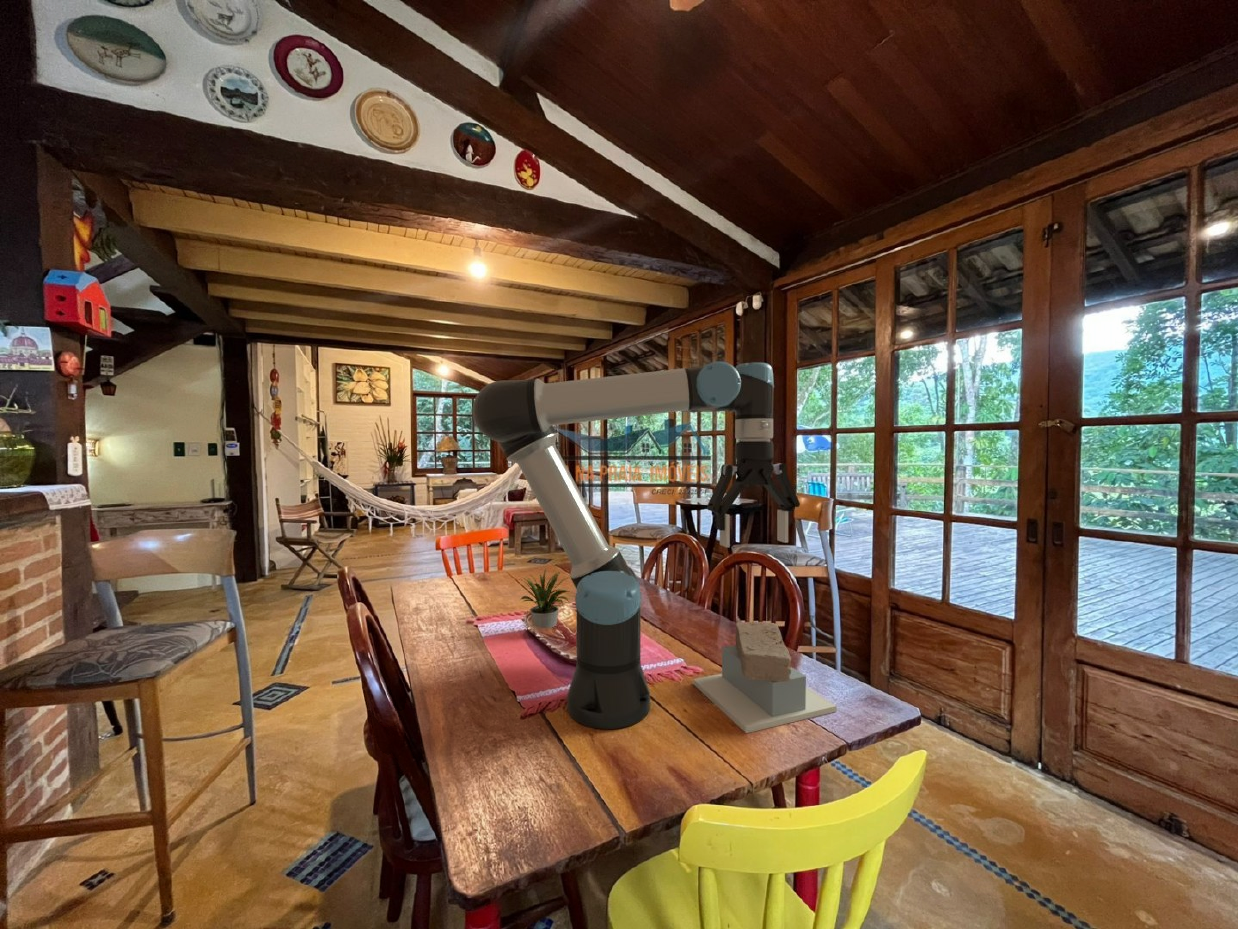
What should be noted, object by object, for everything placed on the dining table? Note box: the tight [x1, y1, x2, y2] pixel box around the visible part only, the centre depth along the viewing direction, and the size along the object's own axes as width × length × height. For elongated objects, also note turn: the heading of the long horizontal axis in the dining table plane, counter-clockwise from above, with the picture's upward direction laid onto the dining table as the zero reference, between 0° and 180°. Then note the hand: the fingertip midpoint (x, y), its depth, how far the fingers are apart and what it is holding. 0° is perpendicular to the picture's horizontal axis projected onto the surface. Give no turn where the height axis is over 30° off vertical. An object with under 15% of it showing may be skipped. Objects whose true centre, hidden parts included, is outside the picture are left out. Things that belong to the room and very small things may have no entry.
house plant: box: [517, 568, 571, 629], centre depth 124 cm, size 14×14×16 cm
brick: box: [734, 621, 792, 682], centre depth 94 cm, size 17×8×5 cm, turn 172°
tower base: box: [692, 644, 838, 734], centre depth 94 cm, size 19×18×7 cm
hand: (754, 543), depth 102 cm, fingers open, 13 cm apart
